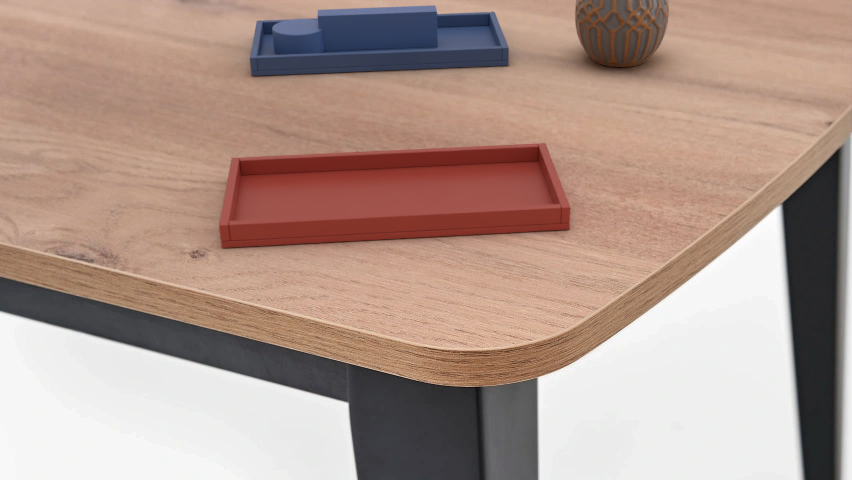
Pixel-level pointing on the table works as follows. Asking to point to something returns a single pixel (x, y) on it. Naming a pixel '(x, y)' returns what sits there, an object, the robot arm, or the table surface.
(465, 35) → the blue tray
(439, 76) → the table surface
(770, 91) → the table surface
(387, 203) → the red tray
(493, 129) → the table surface
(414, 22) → the blue disc-ended bar
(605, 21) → the vase
